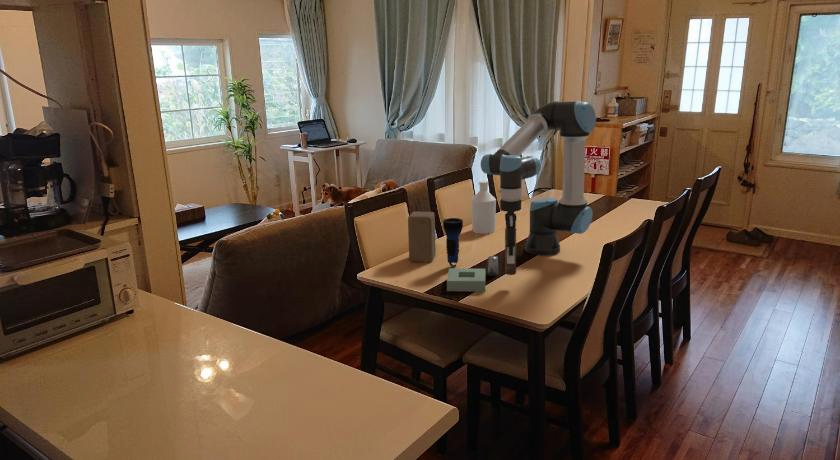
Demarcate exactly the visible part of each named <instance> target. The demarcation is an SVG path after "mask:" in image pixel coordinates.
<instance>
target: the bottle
mask: <svg viewBox="0 0 840 460" xmlns="http://www.w3.org/2000/svg"><path fill="white" fill-rule="evenodd" d="M478 185H479V191H478V192H476V194H475V196H473V197H472V198H471V221H472V222H471V223H472V224H471V226H472V227H471V228H472V233H474V232H475V233H474V234H478V233H479V235H487V234H488V233H490V234H494V233H496V213H497V212H496V210H497V209H496V208H497V205H496V204H497V199H496V198H495V196H493V194H491V193H490V191H489V190H488V189H489V181H488V180H480V181H478ZM488 235H489V234H488Z"/></svg>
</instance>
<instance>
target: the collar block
mask: <svg viewBox="0 0 840 460" xmlns="http://www.w3.org/2000/svg"><path fill="white" fill-rule="evenodd" d="M446 277H447V278H446V292H484V293H485V292H486V268H456V267H451V268H450V267H449V268H448V272H447V276H446Z"/></svg>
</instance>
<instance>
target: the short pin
mask: <svg viewBox="0 0 840 460" xmlns="http://www.w3.org/2000/svg"><path fill="white" fill-rule="evenodd" d="M498 275H499V257H498V256H497V255H489V256H487V276H491V277H495V276H498Z"/></svg>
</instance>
